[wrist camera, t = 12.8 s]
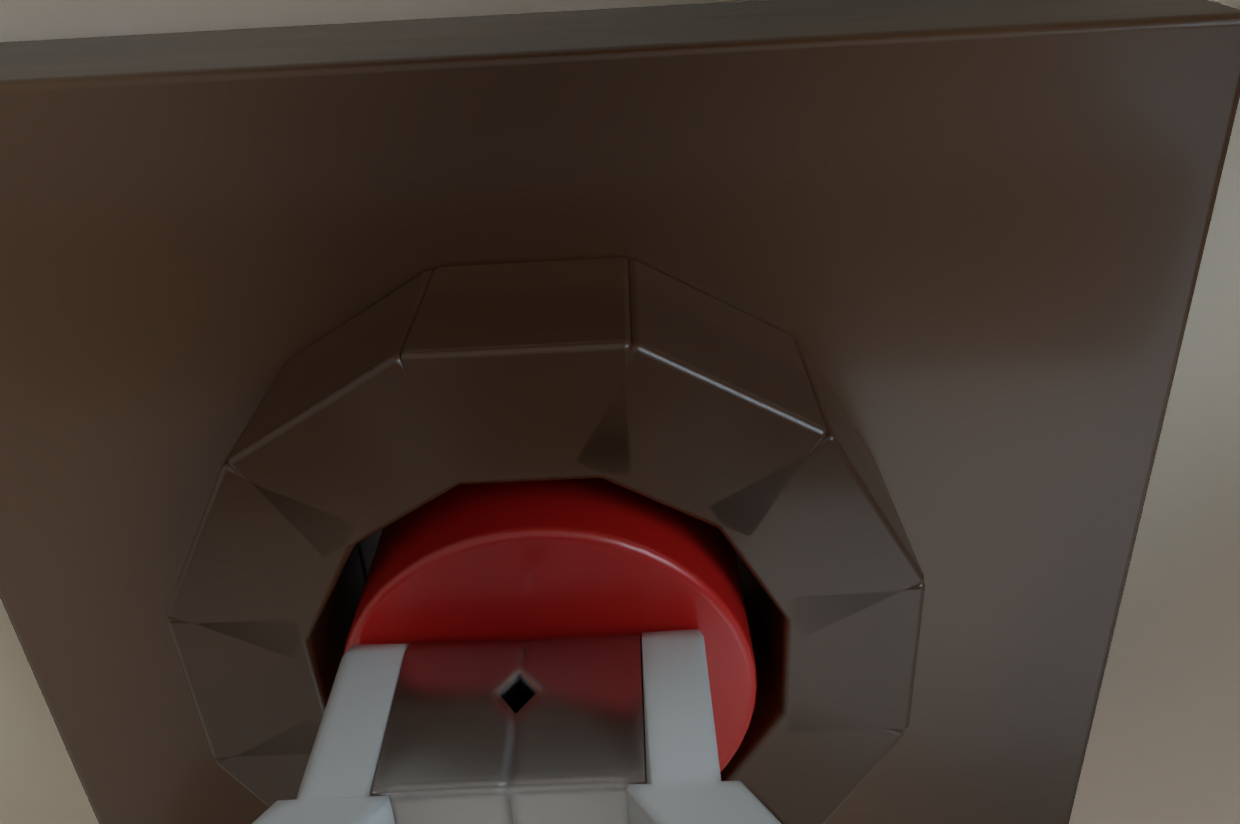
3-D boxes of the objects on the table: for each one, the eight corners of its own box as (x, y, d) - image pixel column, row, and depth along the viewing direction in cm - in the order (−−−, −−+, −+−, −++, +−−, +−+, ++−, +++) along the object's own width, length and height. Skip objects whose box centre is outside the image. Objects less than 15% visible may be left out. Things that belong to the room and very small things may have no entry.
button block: (1141, -22, 10) (1418, 56, 7) (1007, 721, 15) (1126, 989, 12) (-71, 44, 10) (-416, 155, 7) (184, 756, 15) (58, 1030, 12)
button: (738, 410, 10) (760, 520, 8) (736, 699, 11) (755, 834, 10) (349, 430, 10) (301, 542, 8) (407, 712, 11) (376, 849, 10)
